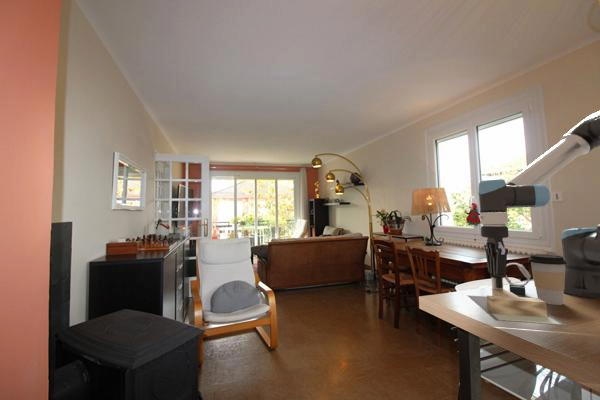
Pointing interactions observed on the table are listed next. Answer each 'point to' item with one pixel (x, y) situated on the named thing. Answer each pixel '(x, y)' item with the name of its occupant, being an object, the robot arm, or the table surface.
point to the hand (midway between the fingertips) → (498, 297)
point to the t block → (515, 304)
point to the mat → (515, 318)
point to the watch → (518, 288)
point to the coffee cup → (549, 277)
